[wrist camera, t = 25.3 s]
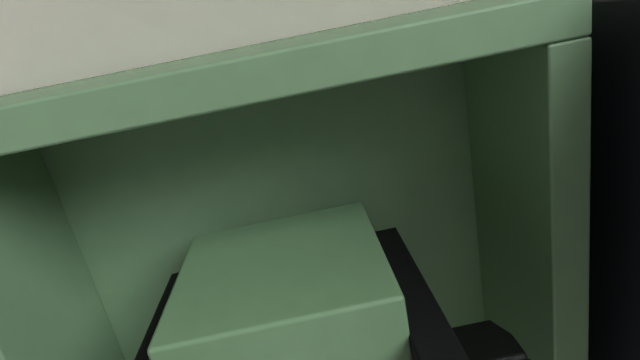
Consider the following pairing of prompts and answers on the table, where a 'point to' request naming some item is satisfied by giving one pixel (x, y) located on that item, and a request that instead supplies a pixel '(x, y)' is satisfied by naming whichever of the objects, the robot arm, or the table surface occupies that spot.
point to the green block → (286, 294)
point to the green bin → (311, 171)
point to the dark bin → (615, 182)
